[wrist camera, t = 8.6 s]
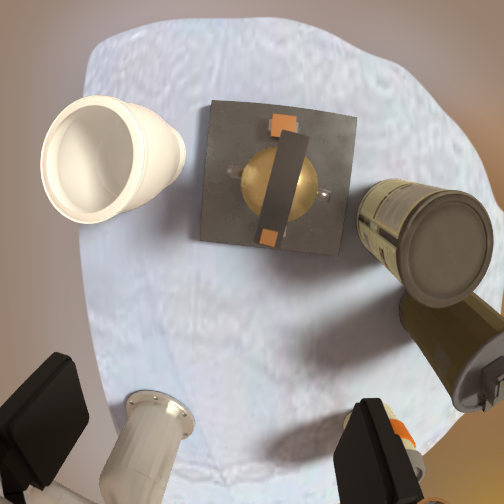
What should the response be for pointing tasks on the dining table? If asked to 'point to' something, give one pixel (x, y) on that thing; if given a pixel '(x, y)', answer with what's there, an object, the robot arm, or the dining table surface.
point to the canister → (461, 348)
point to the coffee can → (427, 239)
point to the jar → (108, 158)
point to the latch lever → (279, 186)
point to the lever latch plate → (267, 135)
